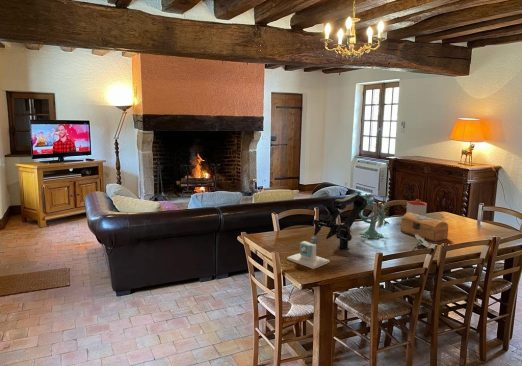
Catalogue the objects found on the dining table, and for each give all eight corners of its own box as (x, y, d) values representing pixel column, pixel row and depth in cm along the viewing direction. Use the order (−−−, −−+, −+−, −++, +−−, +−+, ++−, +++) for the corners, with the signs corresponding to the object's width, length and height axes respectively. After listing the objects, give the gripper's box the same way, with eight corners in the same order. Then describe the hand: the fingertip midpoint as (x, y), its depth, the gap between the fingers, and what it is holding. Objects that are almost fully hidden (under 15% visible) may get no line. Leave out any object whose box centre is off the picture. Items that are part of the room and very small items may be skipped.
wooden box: (399, 231, 306) (400, 213, 304) (413, 228, 314) (415, 211, 312) (432, 242, 280) (434, 223, 278) (447, 239, 288) (449, 220, 286)
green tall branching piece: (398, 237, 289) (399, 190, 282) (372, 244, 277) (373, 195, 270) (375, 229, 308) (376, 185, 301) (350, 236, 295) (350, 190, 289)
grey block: (312, 254, 243) (313, 236, 241) (316, 256, 240) (317, 237, 238) (300, 259, 235) (301, 240, 233) (304, 260, 233) (305, 241, 231)
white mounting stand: (303, 253, 250) (304, 237, 248) (329, 262, 236) (330, 244, 234) (287, 259, 240) (287, 241, 238) (313, 268, 225) (314, 250, 224)
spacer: (301, 253, 238) (302, 242, 237) (310, 256, 233) (311, 245, 232) (299, 254, 237) (300, 242, 236) (308, 257, 232) (309, 245, 231)
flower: (404, 244, 254) (417, 229, 277) (399, 249, 257) (413, 234, 280) (421, 258, 250) (434, 242, 273) (416, 264, 252) (429, 247, 275)
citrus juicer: (409, 218, 343) (411, 196, 340) (428, 223, 330) (431, 199, 327) (399, 221, 333) (401, 198, 330) (419, 226, 320) (421, 202, 317)
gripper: (315, 206, 251) (303, 226, 245) (339, 212, 237) (327, 233, 232) (322, 216, 257) (310, 236, 252) (346, 222, 244) (334, 243, 238)
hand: (320, 237), depth 243 cm, fingers open, 9 cm apart
